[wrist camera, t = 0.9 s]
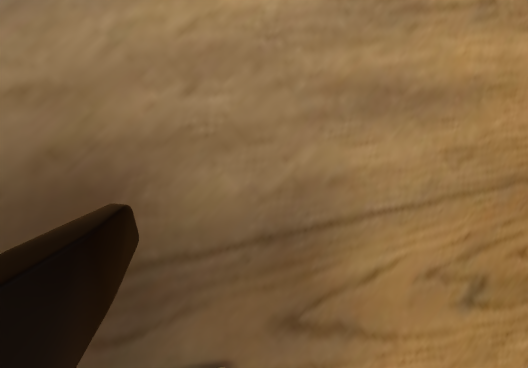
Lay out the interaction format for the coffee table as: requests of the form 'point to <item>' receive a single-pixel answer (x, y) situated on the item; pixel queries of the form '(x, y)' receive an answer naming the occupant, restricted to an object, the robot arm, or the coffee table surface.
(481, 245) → the coffee table surface
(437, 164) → the coffee table surface
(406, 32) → the coffee table surface
